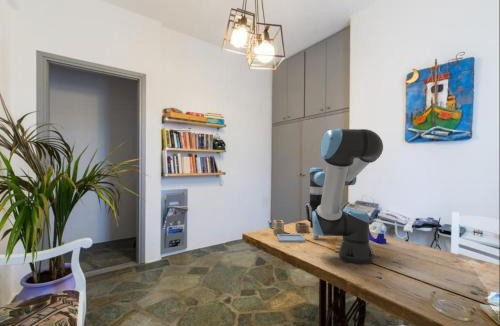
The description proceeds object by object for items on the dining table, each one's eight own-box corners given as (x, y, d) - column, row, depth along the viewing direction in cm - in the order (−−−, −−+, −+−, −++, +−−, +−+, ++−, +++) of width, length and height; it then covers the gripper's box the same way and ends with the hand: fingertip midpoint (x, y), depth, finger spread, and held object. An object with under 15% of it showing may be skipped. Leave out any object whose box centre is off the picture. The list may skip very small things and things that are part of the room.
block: (283, 235, 149) (284, 222, 149) (274, 235, 149) (274, 222, 149) (282, 232, 155) (282, 220, 155) (273, 232, 155) (273, 220, 155)
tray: (305, 242, 137) (305, 240, 137) (279, 242, 137) (279, 240, 137) (301, 236, 148) (301, 234, 148) (277, 236, 148) (277, 234, 148)
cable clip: (386, 244, 135) (386, 233, 135) (379, 245, 133) (380, 234, 133) (369, 237, 146) (369, 227, 146) (363, 238, 145) (363, 228, 145)
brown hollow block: (308, 233, 154) (308, 225, 154) (297, 233, 154) (297, 225, 154) (305, 230, 161) (306, 222, 161) (295, 230, 161) (295, 222, 161)
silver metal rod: (319, 239, 140) (319, 215, 140) (314, 239, 140) (314, 215, 140) (317, 237, 143) (317, 214, 143) (312, 237, 143) (312, 214, 143)
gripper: (327, 192, 146) (327, 231, 146) (301, 192, 146) (301, 231, 146) (331, 194, 138) (331, 235, 138) (304, 194, 138) (304, 235, 138)
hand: (316, 233), depth 142 cm, fingers closed on silver metal rod, 3 cm apart
